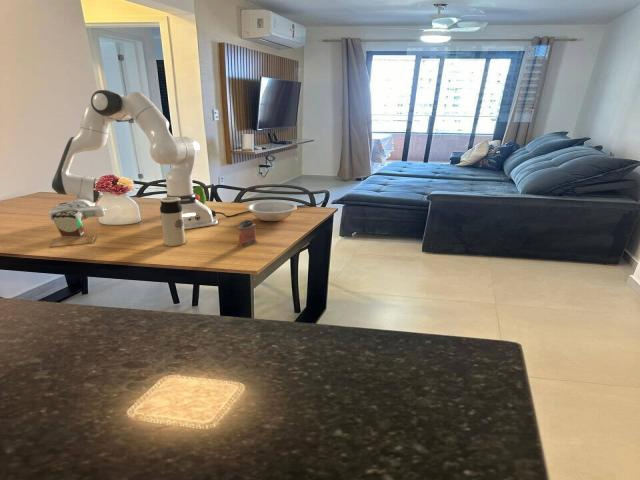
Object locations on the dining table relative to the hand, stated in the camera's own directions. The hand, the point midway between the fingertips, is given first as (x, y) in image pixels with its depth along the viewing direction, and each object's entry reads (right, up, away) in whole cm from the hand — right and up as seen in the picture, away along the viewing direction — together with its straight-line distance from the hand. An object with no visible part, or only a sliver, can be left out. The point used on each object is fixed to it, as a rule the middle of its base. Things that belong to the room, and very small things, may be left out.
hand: (74, 217), depth 157 cm
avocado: (+35, +8, +50) cm, 62 cm away
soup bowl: (+78, 0, +30) cm, 83 cm away
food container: (0, -7, +1) cm, 7 cm away
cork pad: (+3, -10, -6) cm, 12 cm away
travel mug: (+43, -11, -5) cm, 45 cm away
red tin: (+72, -11, -4) cm, 73 cm away
